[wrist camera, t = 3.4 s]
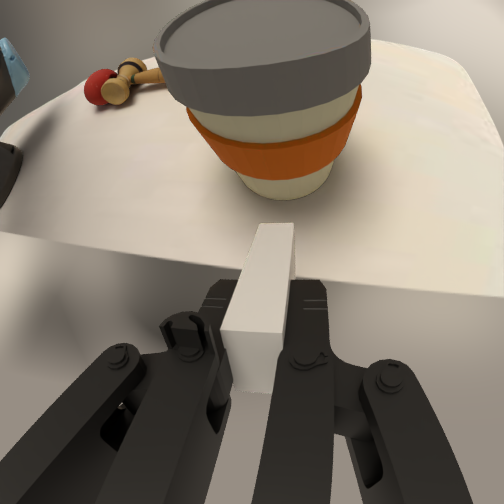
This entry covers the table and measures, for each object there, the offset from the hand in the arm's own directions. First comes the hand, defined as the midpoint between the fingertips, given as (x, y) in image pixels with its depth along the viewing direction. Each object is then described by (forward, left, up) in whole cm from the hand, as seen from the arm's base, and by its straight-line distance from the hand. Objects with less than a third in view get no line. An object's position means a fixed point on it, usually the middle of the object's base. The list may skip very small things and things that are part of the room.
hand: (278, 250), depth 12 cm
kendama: (-21, +28, -10) cm, 36 cm away
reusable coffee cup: (0, +12, -10) cm, 15 cm away
